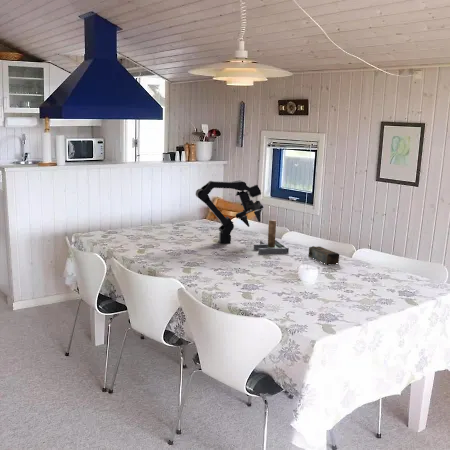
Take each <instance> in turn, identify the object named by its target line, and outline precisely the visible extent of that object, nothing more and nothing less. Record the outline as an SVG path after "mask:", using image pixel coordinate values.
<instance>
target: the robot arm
mask: <svg viewBox="0 0 450 450" xmlns="http://www.w3.org/2000/svg"><path fill="white" fill-rule="evenodd" d="M213 189H233V190H236V193H235V194H234V195H235V196H236V197H238V196H239V200H240V202H241V203H240V206H242V207H243V209H242V211H239V212H237V213H236V214H235V218H236V219H239V220H240V221H242V222H243V224H245V225H246V227H248V228H249V227H250V223H249V220H248V215H247V214H251V213H252V212H253V214H254V215H255V217H256V219H257V222H259V223H260V222H261V214H262V213H261V212H262V211H263V209H264V205H263V204H262V203H261V201H260V200H256V201H255V202H254V201H253V200H252V199H251V198H253V199H254V198H257V197H259V196H261V195H262V192H261V191H262V190H261V189H260V187H259V185H258V184H255V185H252V186H248V185H247V183H246V181H243V180H234V181H213V180H209V181H208V182H207V183H206V184H204V185H203V186H201V187H200V188H198V189H197V190H196V191H195V196H196V198H198V199H199V200H200V201H201V202H203V203H204V204H205V205H206V206H207V208H208V209H209V210H211V212H212V213H213V215H214V216H215V217H216V218H217V219H218V221H219V223H220V224H221V226H219V227H218V231H219V237H218V238H219V239H218V242H219V243H220V244H221V245H222V244H231V243H232V235H231V233H232V231H233V230H234V228H235V225H234V222H233V221H232V220H231V218H230V217H229V216H225V215H224V214H223V212H221V210H220V209H219V208H218V207H217V206H216V204H214V202H213V201H212V200H211V198H210V196H209V194H210V193H211V191H212V190H213Z"/></svg>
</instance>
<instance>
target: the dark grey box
mask: <svg viewBox="0 0 450 450" xmlns="http://www.w3.org/2000/svg"><path fill="white" fill-rule="evenodd" d="M310 257H311V259H312V258H314V259H316V260H315V261H317V260H318V261H317V262H319V261H321V262H323V263H322V264H324V263H325V264H324V265H326V264H335V265H337V264H336V263H338V264H339V263H340V253H339V252H335V251H332V250H330V249H328V248H325V247H323V246H314V245H313V246H309V247H308V258H310ZM314 259H313V260H314ZM321 262H320V263H321Z"/></svg>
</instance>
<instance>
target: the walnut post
mask: <svg viewBox="0 0 450 450" xmlns="http://www.w3.org/2000/svg"><path fill="white" fill-rule="evenodd" d="M276 232H277V220H276V219H269V220H268V231H267V244H268V247H275V240H276V235H277V234H276Z"/></svg>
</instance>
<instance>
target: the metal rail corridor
mask: <svg viewBox="0 0 450 450" xmlns="http://www.w3.org/2000/svg"><path fill="white" fill-rule="evenodd" d="M275 245H276V246H277V247H279V248H268V243H266V242H265V241H264V240H262V239H260V240H259V243H258V244H253V250H254V251H258V252H257V254H259V255H271V254H273V255H275V254H289V253H290V252H289V250H290V249H289V247H288V246H287V245H285V244H284V243H282V242H281V241H279V240H278V239H275Z"/></svg>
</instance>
